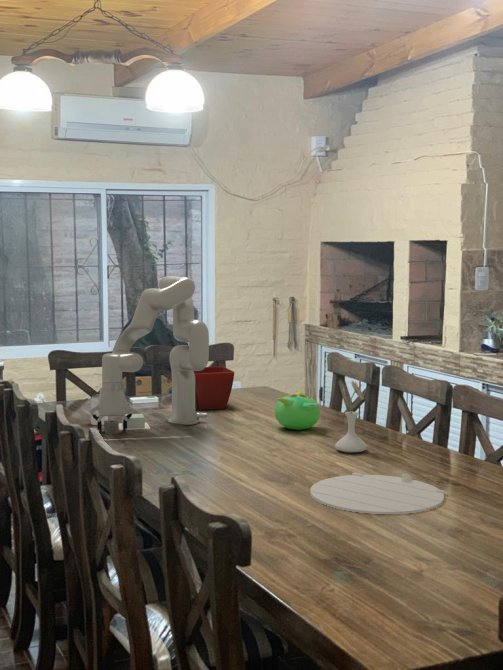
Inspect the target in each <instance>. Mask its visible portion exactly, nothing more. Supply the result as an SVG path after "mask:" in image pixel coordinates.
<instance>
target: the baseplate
mask: <svg viewBox="0 0 503 670" xmlns="http://www.w3.org/2000/svg"><path fill="white" fill-rule="evenodd" d="M150 429H152V428H151V427H150V425H149V423H148V422H146V421H145V428H127V429H126V431H127V430H150ZM119 431H123V425H122V422H121V423H119Z"/></svg>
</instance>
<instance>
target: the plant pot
mask: <svg viewBox="0 0 503 670" xmlns="http://www.w3.org/2000/svg"><path fill="white" fill-rule="evenodd" d="M194 374H195V410H196V411H197V410H198V411H204V410H205V411H207V410H223V409H226V408H227V406H228V403H229V400H230V396H231V393H232V389H233V383H234V378H235V371H234V370H232V369H229V368H227V367H225V366H206V367H205V368H204V369H203V370H201V371H194Z"/></svg>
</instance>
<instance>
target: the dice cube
mask: <svg viewBox="0 0 503 670" xmlns="http://www.w3.org/2000/svg"><path fill="white" fill-rule="evenodd" d="M103 432H104V434H105V435H108V434H111V435H113V434H119V433H120V430H119V421H118V419H110V420H104V425H103Z"/></svg>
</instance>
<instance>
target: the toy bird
mask: <svg viewBox="0 0 503 670" xmlns="http://www.w3.org/2000/svg"><path fill="white" fill-rule="evenodd" d="M302 393H303V392H302V391H300V390H299V391H296V392H293V394H289V395H286V396H284V397H278V398H277V403H276V404H275V407H274V416H275V419H276V421H277V422H278V423H279V424H280V425H281V426H282V427H284V428H286V429H290V430H296V431H300V430H301V431H302V430H307V429H309V428H313V427H314V426H316V424H317V423H318V422H319V419H320V417H321V407H320V405H319V403H318V402H317V401H316V400H315V399H314V398H313V397H311V396H309V395H306V394H302Z"/></svg>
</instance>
